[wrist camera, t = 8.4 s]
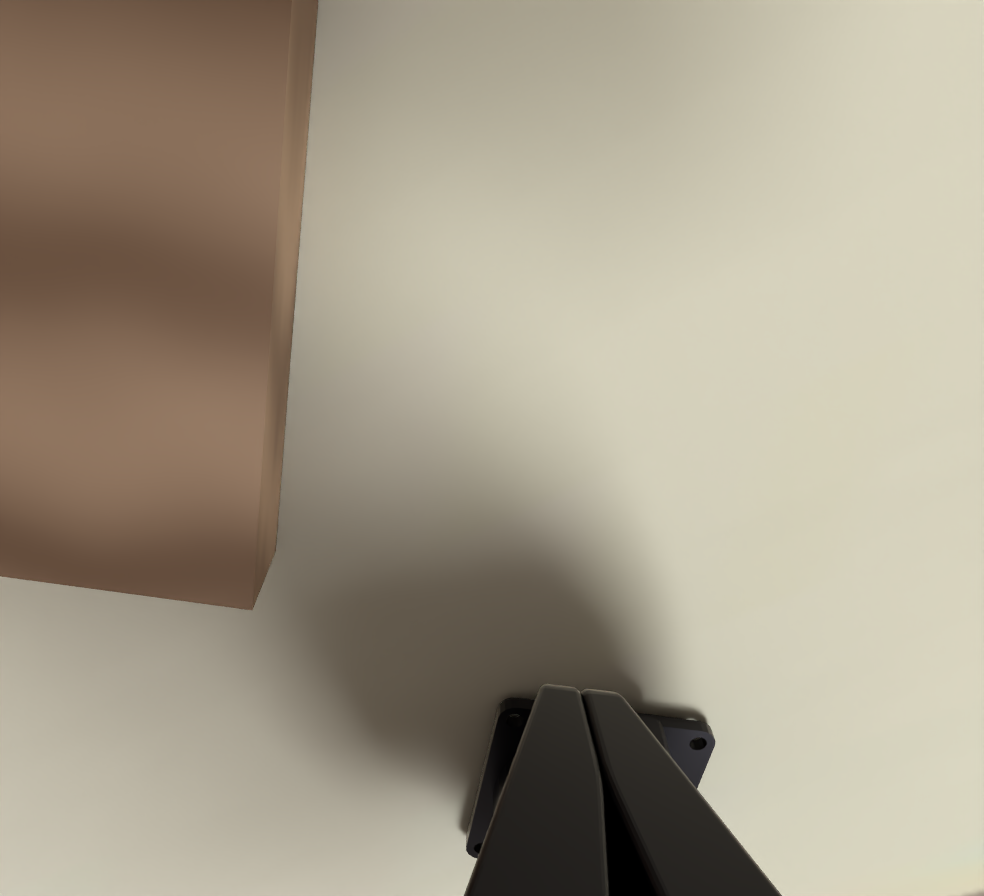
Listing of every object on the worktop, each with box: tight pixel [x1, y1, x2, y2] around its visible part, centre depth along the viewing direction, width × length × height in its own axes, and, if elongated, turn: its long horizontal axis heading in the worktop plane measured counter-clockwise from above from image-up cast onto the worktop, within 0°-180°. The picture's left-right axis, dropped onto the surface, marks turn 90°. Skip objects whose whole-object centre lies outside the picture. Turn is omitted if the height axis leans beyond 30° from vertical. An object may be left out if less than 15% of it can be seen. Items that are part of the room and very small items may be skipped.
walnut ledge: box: [0, 0, 318, 610], centre depth 17 cm, size 14×10×2 cm
